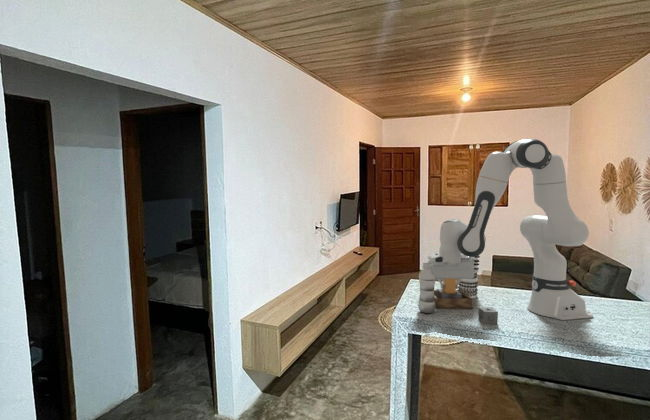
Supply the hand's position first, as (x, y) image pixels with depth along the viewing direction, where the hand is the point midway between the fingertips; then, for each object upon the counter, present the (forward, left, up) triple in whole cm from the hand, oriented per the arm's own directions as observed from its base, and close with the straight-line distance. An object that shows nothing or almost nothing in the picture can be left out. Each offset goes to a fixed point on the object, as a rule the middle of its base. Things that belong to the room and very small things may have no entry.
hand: (449, 288), depth 153 cm
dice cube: (-7, +20, -7) cm, 23 cm away
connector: (0, 0, -4) cm, 4 cm away
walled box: (0, 0, -7) cm, 7 cm away
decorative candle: (-13, -11, -7) cm, 18 cm away
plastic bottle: (+13, +10, -7) cm, 17 cm away
